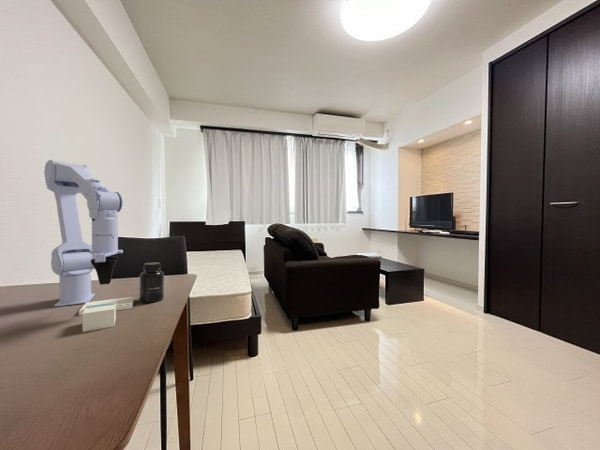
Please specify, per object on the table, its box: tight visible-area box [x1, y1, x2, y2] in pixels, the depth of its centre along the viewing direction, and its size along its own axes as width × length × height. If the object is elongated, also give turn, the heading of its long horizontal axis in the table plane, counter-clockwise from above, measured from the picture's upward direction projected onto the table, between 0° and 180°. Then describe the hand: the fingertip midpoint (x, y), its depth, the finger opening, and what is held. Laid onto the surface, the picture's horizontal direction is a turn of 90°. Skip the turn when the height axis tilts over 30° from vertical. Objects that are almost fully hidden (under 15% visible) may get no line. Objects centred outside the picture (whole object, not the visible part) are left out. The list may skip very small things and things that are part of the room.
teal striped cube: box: [81, 302, 117, 333], centre depth 63 cm, size 6×6×5 cm
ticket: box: [78, 296, 135, 316], centre depth 75 cm, size 8×12×1 cm, turn 119°
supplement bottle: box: [138, 261, 165, 304], centre depth 82 cm, size 7×7×12 cm
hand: (105, 283), depth 70 cm, fingers closed
